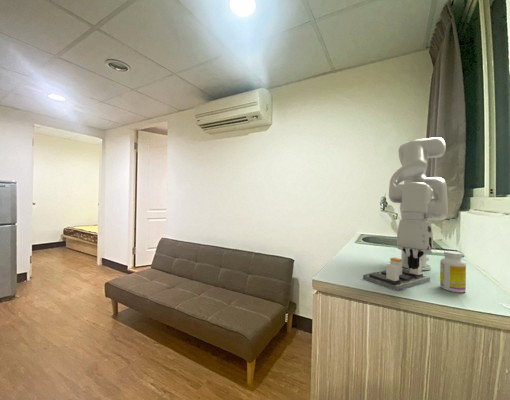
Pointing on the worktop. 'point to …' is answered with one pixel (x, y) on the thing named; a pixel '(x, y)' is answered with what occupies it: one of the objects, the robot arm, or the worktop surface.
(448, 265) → the supplement bottle
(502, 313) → the worktop surface
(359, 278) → the worktop surface
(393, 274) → the block
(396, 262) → the block
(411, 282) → the panel
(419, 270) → the block
